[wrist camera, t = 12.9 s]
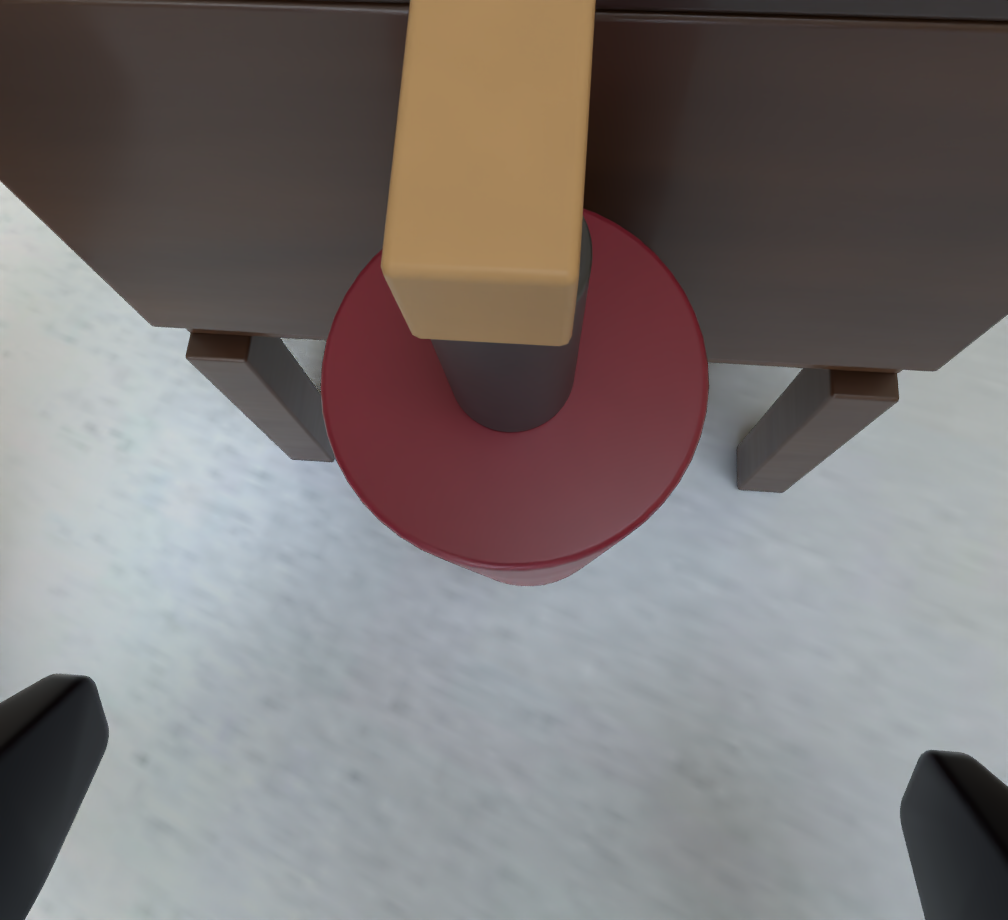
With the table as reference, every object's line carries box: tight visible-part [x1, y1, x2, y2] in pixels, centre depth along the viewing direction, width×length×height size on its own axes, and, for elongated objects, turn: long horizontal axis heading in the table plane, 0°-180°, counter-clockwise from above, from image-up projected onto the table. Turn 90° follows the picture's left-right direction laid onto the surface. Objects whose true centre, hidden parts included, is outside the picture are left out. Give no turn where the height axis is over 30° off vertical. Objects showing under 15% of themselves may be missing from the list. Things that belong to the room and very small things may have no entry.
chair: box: [0, 0, 1008, 493], centre depth 14 cm, size 12×14×15 cm
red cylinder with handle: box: [321, 0, 709, 586], centre depth 10 cm, size 7×4×12 cm, turn 176°
